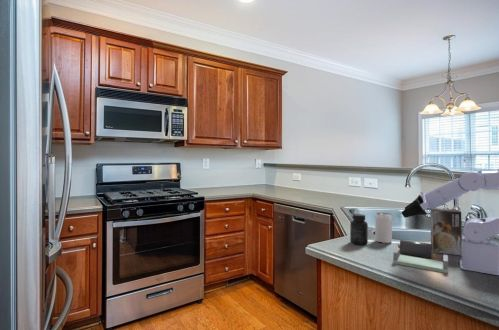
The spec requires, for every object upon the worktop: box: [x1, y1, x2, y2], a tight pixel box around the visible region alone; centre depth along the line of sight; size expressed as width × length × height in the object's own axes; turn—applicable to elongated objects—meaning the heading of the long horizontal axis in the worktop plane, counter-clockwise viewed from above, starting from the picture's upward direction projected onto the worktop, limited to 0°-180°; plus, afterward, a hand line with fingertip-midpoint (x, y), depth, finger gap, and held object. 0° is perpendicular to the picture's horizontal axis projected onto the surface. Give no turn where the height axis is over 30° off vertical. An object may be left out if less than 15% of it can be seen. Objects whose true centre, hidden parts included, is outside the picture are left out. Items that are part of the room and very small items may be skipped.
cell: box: [397, 239, 433, 259], centre depth 105 cm, size 11×5×5 cm, turn 56°
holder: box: [392, 247, 449, 274], centre depth 96 cm, size 15×8×4 cm, turn 56°
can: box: [374, 212, 393, 244], centre depth 123 cm, size 6×6×12 cm
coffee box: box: [430, 207, 463, 256], centre depth 109 cm, size 9×6×16 cm
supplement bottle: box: [349, 213, 369, 247], centre depth 120 cm, size 7×7×12 cm
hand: (404, 212), depth 105 cm, fingers open, 7 cm apart
